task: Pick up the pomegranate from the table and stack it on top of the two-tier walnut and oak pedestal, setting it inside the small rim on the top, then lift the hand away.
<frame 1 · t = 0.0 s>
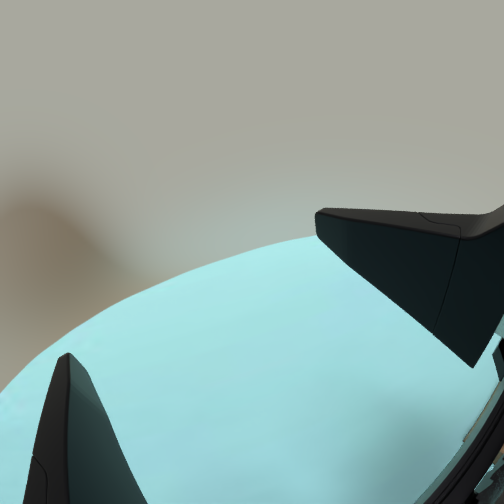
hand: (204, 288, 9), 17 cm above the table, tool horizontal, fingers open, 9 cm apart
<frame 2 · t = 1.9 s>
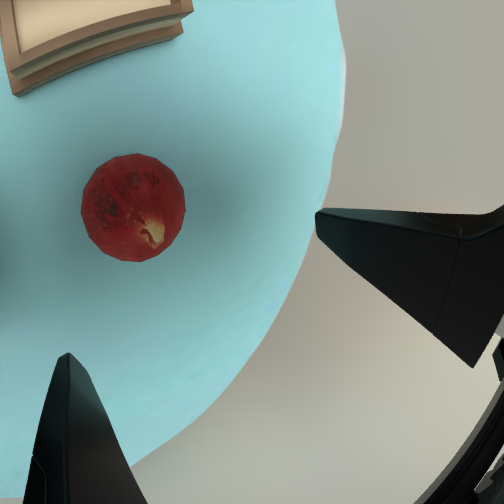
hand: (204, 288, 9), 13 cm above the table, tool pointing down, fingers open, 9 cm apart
pomegranate: (120, 191, 18), on the table
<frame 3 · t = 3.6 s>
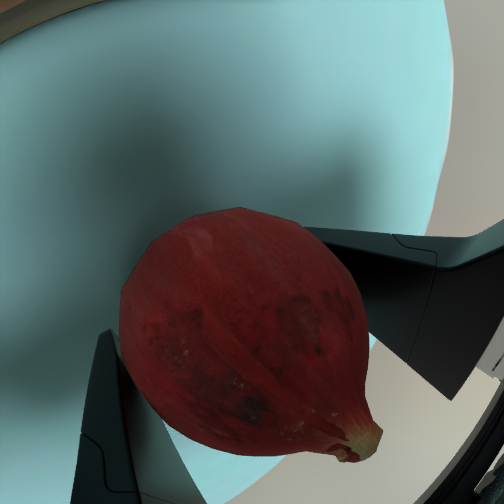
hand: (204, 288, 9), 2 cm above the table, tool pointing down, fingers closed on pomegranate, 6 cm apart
pomegranate: (180, 262, 10), on the table, touching gripper
when the fingers open (7 cm above the table, at t = 7.1 s): pomegranate drops 1 cm, resting on pedestal.
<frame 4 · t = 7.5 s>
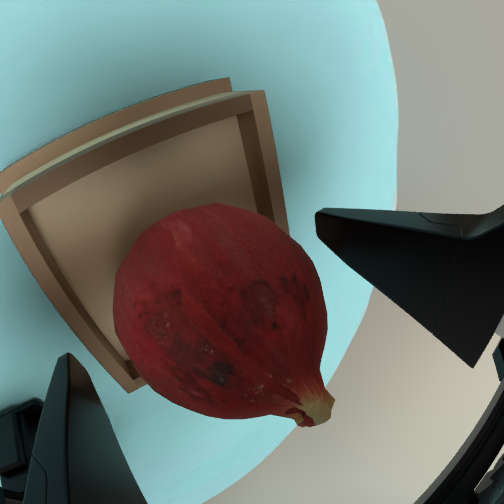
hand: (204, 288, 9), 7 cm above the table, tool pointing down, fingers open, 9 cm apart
pomegranate: (166, 248, 11), point 4 cm above the table, touching pedestal
pedestal: (142, 215, 14), on the table
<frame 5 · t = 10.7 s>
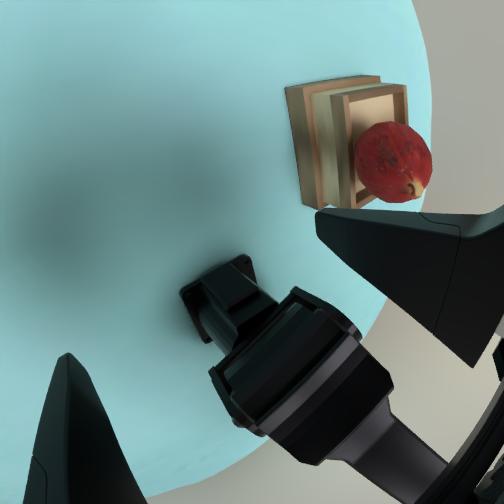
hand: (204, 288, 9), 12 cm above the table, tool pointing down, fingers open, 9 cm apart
pomegranate: (375, 143, 22), point 5 cm above the table, touching pedestal
pedestal: (336, 133, 26), on the table
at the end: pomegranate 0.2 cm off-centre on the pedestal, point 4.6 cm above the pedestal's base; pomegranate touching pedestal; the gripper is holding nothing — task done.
